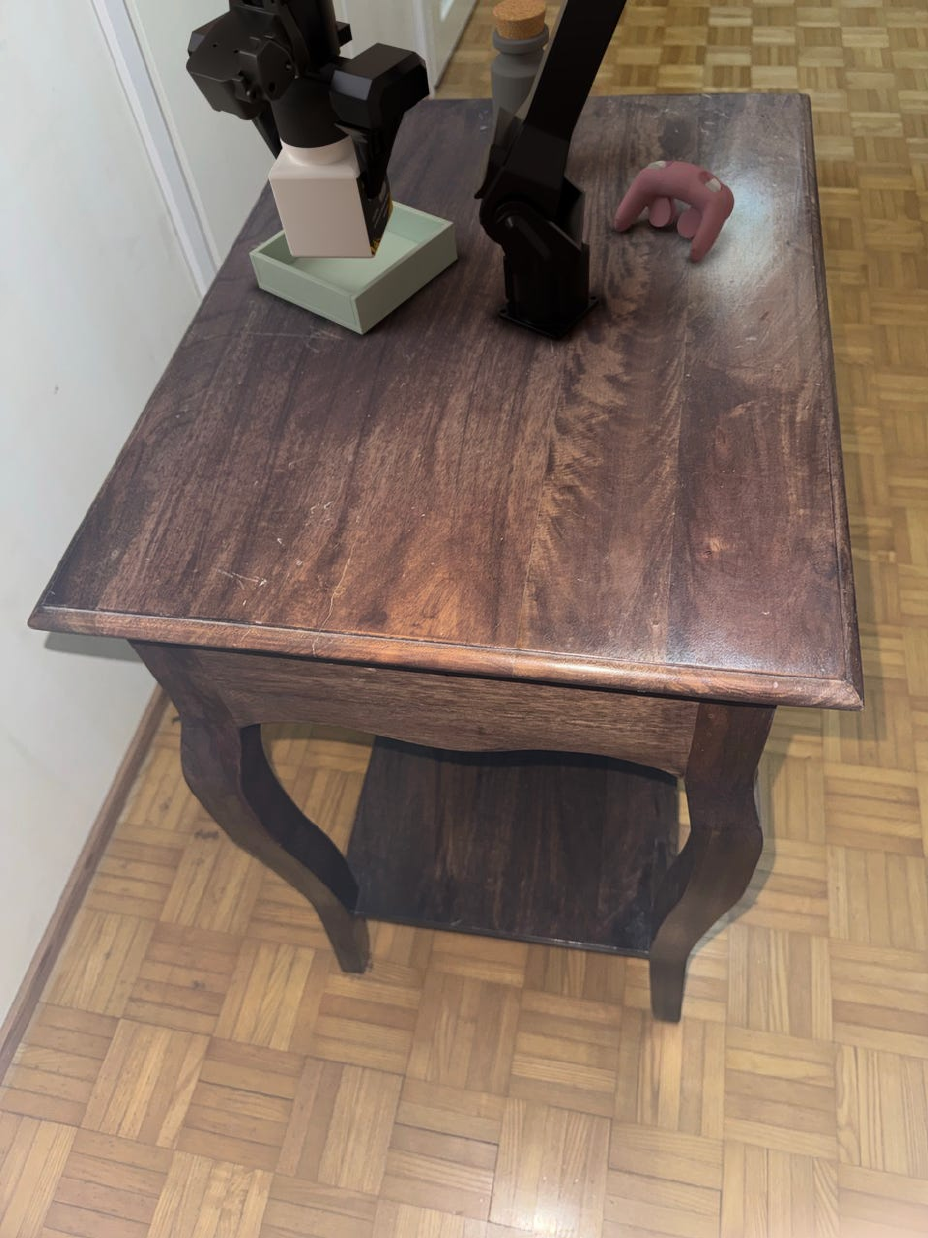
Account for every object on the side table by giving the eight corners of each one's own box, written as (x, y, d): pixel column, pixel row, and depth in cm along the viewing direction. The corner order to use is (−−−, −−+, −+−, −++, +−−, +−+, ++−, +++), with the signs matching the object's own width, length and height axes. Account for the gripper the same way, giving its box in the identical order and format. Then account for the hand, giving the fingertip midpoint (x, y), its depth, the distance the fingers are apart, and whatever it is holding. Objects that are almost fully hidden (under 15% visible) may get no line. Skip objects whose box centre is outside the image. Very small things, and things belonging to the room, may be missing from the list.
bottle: (567, 174, 91) (566, 5, 79) (520, 196, 89) (512, 27, 77) (532, 153, 94) (526, -13, 82) (486, 174, 92) (473, 8, 80)
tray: (457, 258, 84) (453, 222, 81) (362, 334, 79) (354, 299, 76) (355, 219, 90) (347, 183, 87) (259, 287, 84) (248, 252, 82)
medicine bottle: (375, 260, 72) (342, 104, 62) (290, 259, 74) (246, 106, 64) (394, 209, 76) (367, 55, 66) (314, 209, 78) (275, 58, 68)
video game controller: (719, 263, 82) (750, 181, 79) (696, 265, 79) (726, 179, 75) (631, 229, 87) (656, 149, 83) (605, 229, 84) (630, 146, 80)
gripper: (91, -28, 59) (176, 201, 72) (295, 22, 51) (349, 268, 64) (214, -88, 64) (273, 137, 76) (418, -51, 56) (446, 192, 69)
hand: (329, 181), depth 71 cm, fingers closed on medicine bottle, 9 cm apart
